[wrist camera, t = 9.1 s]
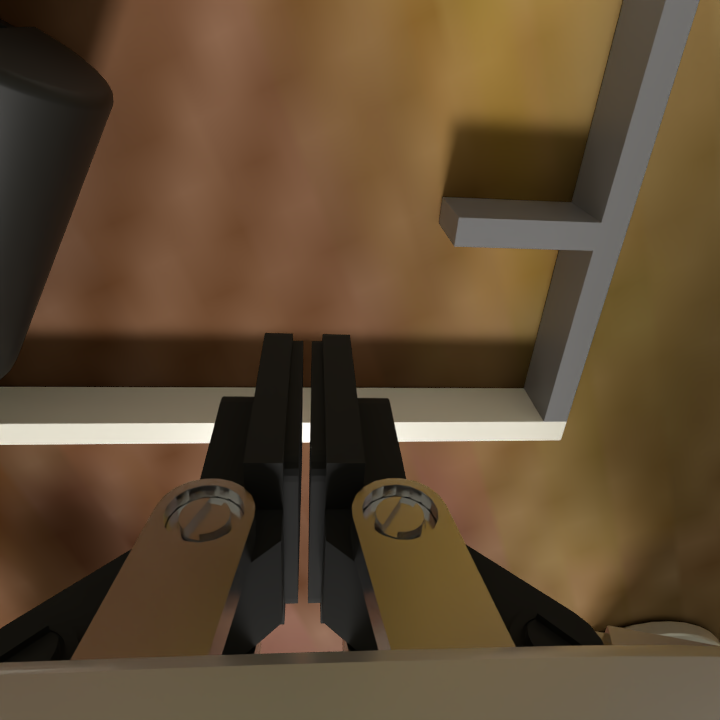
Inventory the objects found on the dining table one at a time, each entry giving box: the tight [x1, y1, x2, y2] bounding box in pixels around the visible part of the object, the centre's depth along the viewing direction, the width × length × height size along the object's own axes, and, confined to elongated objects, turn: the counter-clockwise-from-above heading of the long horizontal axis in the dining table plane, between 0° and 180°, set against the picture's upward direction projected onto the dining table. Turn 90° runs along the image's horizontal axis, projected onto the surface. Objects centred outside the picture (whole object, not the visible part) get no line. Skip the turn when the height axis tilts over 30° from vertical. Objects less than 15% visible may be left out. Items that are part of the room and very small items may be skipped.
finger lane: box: [0, 0, 699, 445], centre depth 18 cm, size 28×18×6 cm, turn 86°
